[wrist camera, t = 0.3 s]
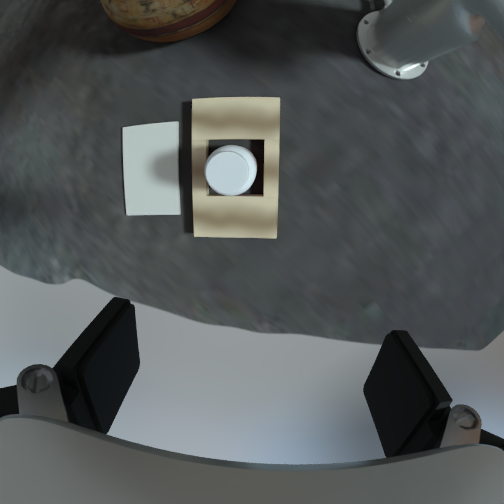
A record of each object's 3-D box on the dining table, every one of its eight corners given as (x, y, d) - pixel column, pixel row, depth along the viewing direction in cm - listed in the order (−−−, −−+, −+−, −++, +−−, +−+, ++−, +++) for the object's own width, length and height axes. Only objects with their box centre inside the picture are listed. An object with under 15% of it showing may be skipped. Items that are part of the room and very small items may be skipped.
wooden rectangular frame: (195, 101, 38) (192, 99, 36) (279, 100, 37) (279, 97, 35) (197, 232, 44) (194, 236, 43) (276, 234, 44) (276, 238, 42)
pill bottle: (212, 185, 42) (196, 198, 32) (216, 144, 40) (200, 142, 29) (255, 189, 42) (252, 203, 31) (259, 148, 40) (258, 147, 29)
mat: (124, 127, 39) (122, 127, 38) (178, 121, 39) (177, 121, 38) (128, 214, 44) (126, 215, 43) (180, 213, 43) (179, 214, 43)
